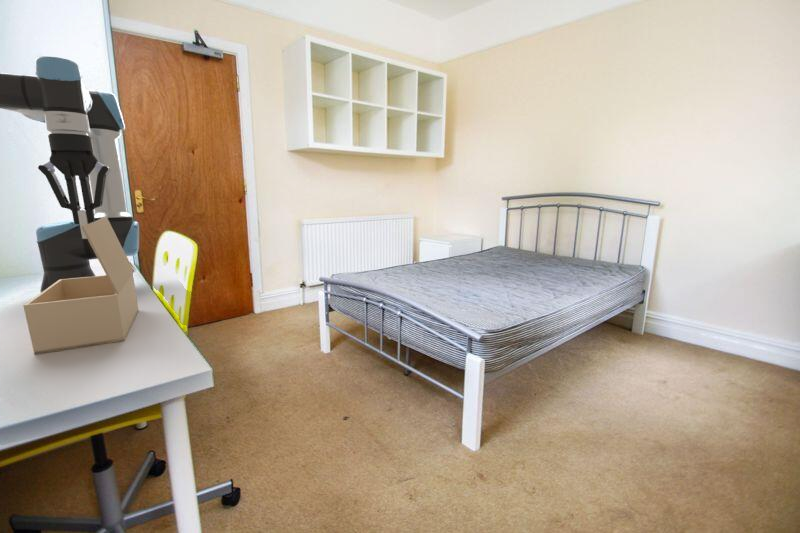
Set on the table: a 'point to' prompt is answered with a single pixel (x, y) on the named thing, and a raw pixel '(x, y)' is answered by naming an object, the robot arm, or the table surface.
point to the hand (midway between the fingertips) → (87, 237)
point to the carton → (80, 314)
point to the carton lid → (109, 252)
